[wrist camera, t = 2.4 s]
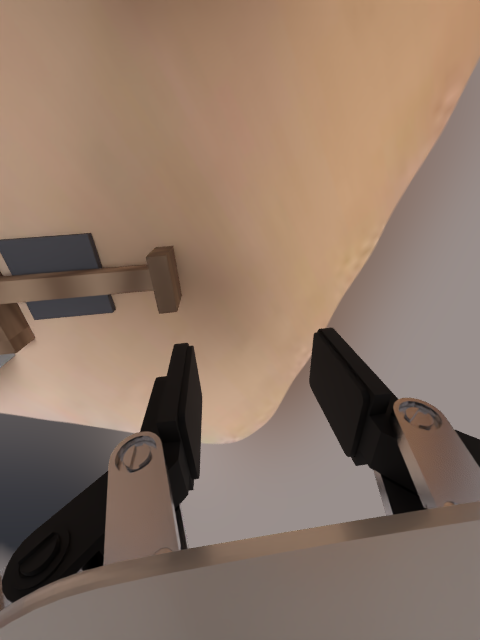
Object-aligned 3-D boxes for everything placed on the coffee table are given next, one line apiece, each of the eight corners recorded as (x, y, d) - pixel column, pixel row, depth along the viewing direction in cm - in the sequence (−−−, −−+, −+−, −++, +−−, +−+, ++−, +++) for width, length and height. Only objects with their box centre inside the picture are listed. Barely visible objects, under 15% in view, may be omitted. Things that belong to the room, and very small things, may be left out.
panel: (91, 233, 23) (87, 234, 23) (115, 309, 27) (113, 312, 26) (1, 239, 23) (-6, 241, 22) (39, 316, 26) (34, 319, 26)
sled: (167, 198, 23) (155, 200, 18) (188, 322, 29) (184, 348, 24) (-198, 221, 20) (-325, 230, 16) (-92, 350, 27) (-159, 385, 22)
